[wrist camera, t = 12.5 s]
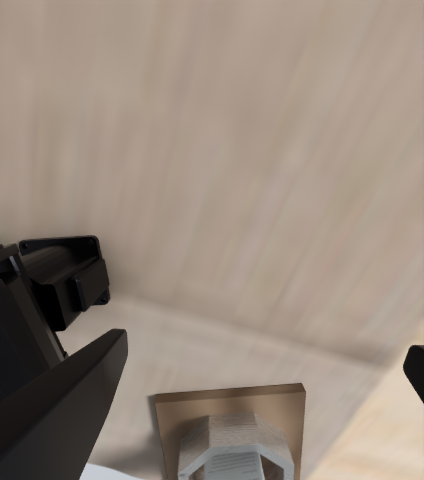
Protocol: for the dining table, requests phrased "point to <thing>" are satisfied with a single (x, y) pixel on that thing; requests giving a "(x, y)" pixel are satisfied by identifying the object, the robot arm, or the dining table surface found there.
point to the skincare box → (234, 467)
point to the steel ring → (235, 444)
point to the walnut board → (231, 401)
